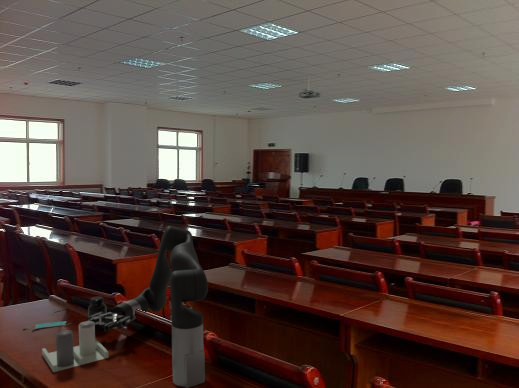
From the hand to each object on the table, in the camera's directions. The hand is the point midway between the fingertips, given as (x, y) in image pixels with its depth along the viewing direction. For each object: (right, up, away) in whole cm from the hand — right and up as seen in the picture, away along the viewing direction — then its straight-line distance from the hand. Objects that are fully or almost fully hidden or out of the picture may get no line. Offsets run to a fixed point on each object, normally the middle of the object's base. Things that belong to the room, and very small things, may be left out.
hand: (95, 327), depth 156 cm
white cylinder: (-1, -8, -3) cm, 8 cm away
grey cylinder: (-5, -8, -11) cm, 15 cm away
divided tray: (-5, -9, -5) cm, 11 cm away
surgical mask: (-27, -8, +25) cm, 38 cm away
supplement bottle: (-7, -7, +23) cm, 25 cm away
